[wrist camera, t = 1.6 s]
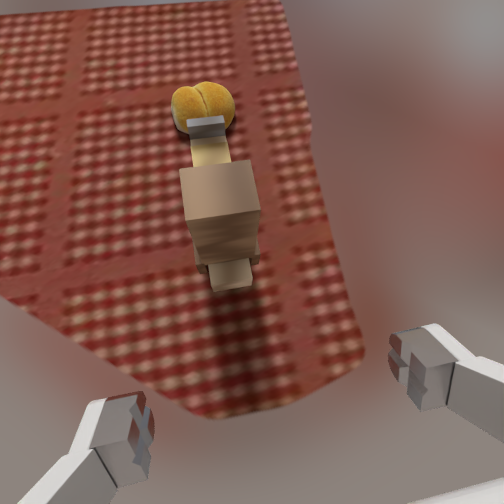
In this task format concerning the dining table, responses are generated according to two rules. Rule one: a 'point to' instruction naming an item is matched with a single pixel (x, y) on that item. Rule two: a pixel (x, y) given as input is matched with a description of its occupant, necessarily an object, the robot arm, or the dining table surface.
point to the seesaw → (208, 153)
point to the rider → (221, 212)
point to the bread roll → (201, 104)
